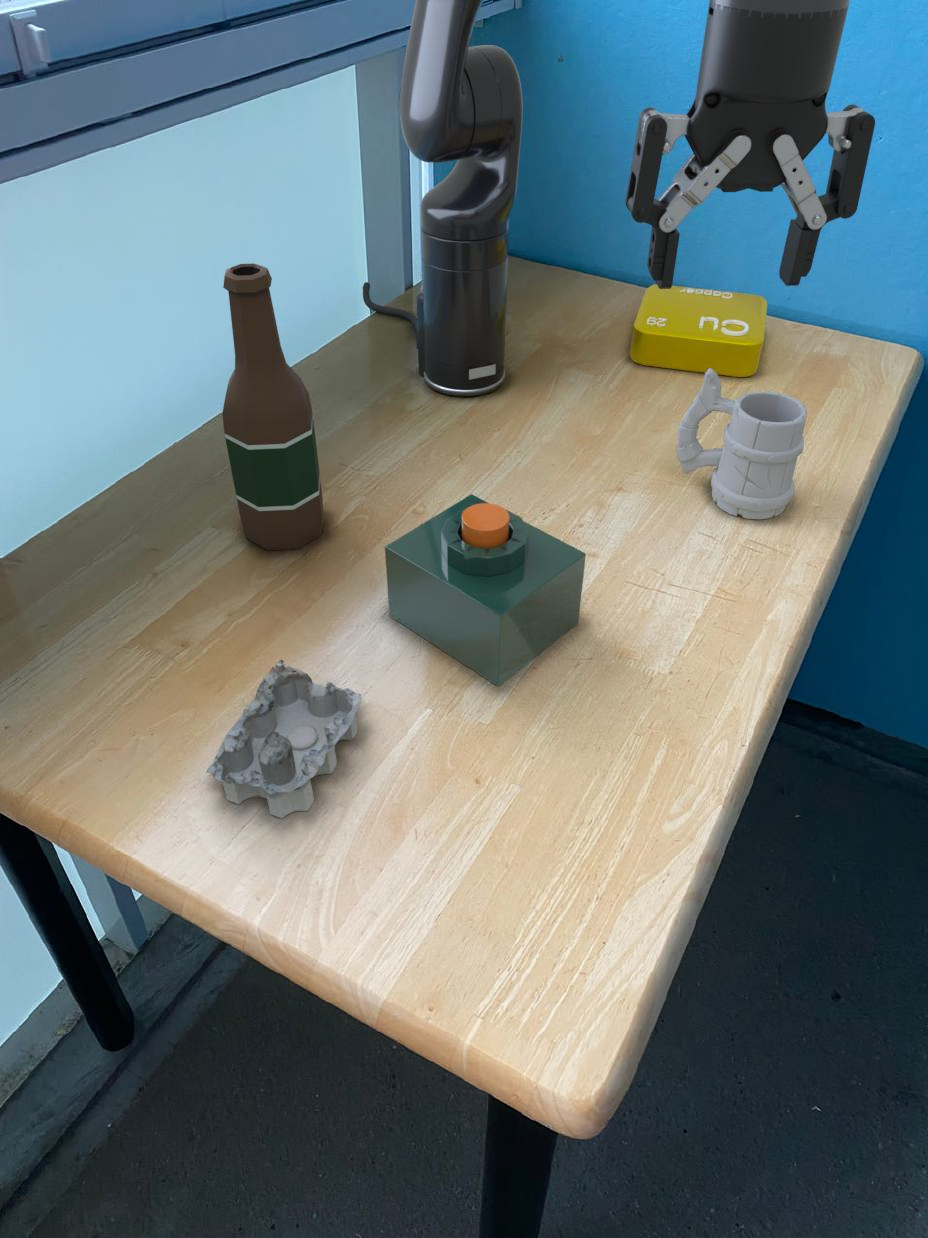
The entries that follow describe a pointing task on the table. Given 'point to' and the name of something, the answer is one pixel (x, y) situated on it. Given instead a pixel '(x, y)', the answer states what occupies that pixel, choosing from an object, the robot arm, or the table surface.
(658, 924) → the table surface
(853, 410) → the table surface
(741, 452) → the mug
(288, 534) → the beer bottle
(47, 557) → the table surface
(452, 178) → the robot arm
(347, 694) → the egg carton
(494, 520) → the orange button
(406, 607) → the green button block
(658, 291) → the element tile
